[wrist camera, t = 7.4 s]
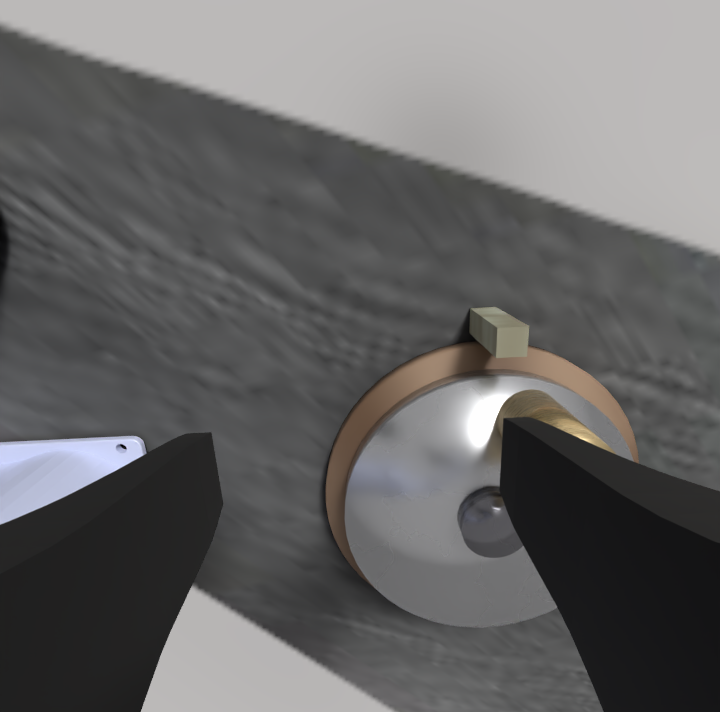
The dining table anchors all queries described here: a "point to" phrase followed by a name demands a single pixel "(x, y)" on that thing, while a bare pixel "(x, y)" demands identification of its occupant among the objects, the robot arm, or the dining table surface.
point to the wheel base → (491, 351)
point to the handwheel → (456, 496)
